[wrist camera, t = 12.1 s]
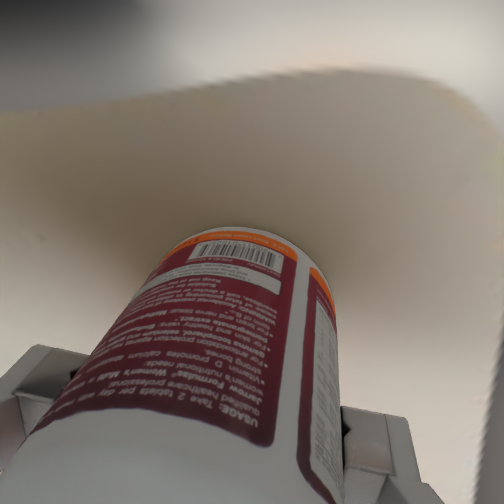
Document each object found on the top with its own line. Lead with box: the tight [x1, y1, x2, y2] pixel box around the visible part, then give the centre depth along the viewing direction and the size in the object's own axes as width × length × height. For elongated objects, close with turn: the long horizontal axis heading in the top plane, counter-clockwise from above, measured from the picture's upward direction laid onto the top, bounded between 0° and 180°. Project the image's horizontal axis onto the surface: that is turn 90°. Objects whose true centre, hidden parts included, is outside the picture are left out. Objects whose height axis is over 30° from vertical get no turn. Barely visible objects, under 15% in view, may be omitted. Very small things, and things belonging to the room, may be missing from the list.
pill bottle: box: [0, 227, 344, 504], centre depth 9 cm, size 6×6×11 cm
